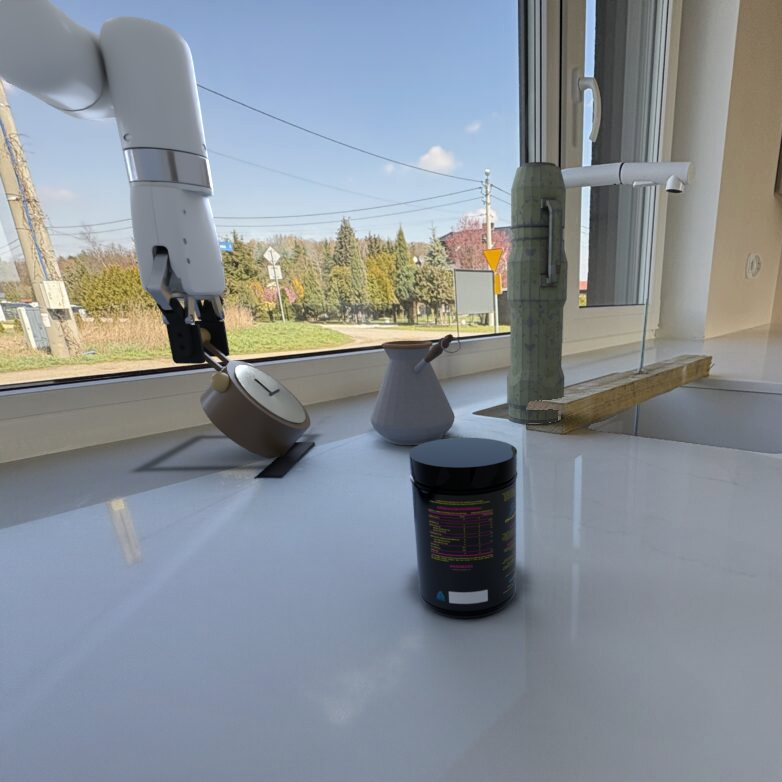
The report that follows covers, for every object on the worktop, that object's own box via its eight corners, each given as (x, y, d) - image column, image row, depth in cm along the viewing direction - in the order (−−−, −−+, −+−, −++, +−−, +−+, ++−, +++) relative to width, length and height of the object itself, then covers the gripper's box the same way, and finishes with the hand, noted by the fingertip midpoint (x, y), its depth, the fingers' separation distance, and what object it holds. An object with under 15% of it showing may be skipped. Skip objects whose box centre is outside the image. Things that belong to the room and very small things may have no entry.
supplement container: (506, 569, 43) (505, 434, 39) (527, 616, 37) (528, 463, 33) (416, 578, 42) (406, 440, 38) (422, 629, 36) (411, 470, 32)
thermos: (539, 408, 97) (543, 174, 84) (579, 422, 88) (590, 160, 75) (493, 414, 93) (490, 169, 80) (530, 429, 84) (533, 154, 71)
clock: (137, 364, 59) (166, 327, 58) (186, 352, 69) (212, 320, 68) (267, 469, 64) (297, 437, 63) (296, 444, 74) (321, 415, 73)
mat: (142, 480, 62) (141, 477, 62) (200, 446, 75) (199, 443, 75) (282, 477, 63) (281, 474, 63) (315, 444, 76) (314, 441, 76)
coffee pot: (363, 433, 81) (351, 324, 76) (438, 425, 86) (433, 321, 81) (409, 475, 64) (399, 336, 58) (501, 461, 69) (500, 332, 63)
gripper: (173, 189, 65) (202, 351, 72) (77, 158, 50) (126, 369, 56) (240, 191, 66) (263, 351, 73) (166, 161, 50) (203, 370, 57)
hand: (202, 357), depth 64 cm, fingers closed on clock, 5 cm apart
